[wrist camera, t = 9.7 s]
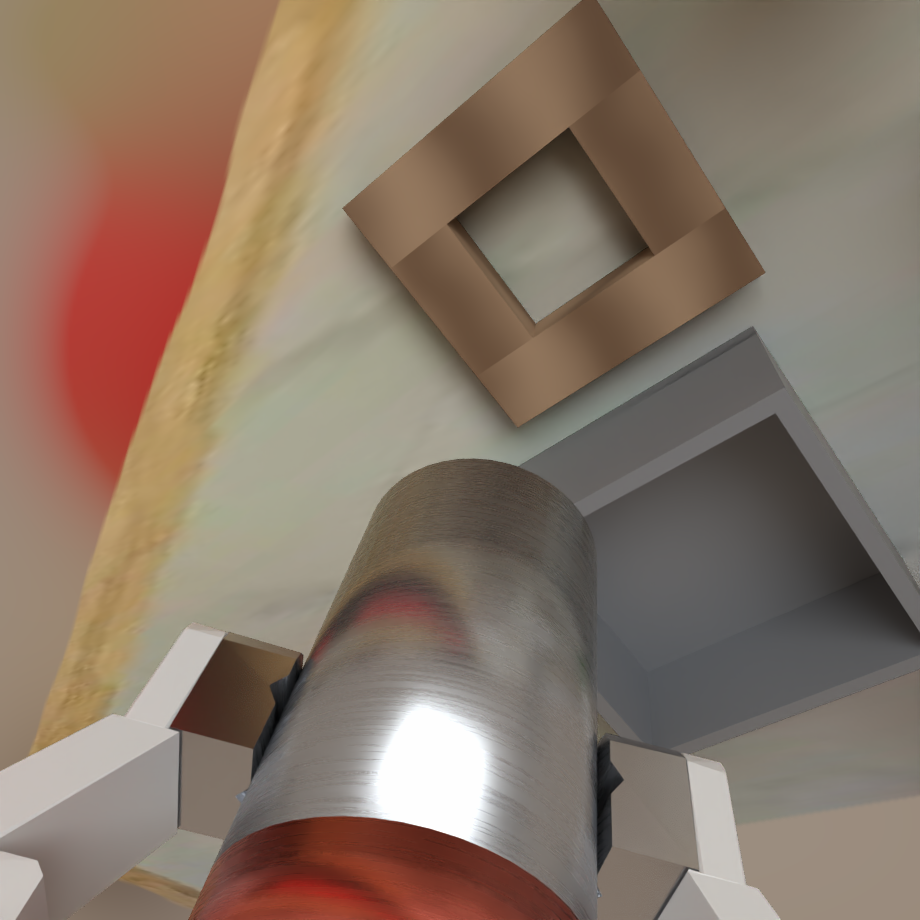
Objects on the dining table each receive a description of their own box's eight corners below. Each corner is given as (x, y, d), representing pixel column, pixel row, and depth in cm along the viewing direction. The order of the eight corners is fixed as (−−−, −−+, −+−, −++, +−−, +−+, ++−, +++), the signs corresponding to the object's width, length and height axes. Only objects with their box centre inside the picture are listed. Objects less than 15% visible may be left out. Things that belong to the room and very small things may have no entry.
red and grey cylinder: (628, 494, 12) (667, 1096, 5) (562, 670, 14) (529, 1271, 7) (385, 431, 12) (121, 943, 6) (353, 615, 14) (131, 1156, 8)
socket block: (591, -7, 30) (591, -9, 29) (757, 260, 34) (765, 272, 33) (354, 199, 36) (342, 208, 34) (521, 410, 40) (517, 427, 38)
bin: (752, 325, 36) (784, 386, 30) (903, 561, 41) (957, 655, 34) (484, 486, 42) (465, 563, 36) (641, 673, 47) (648, 768, 41)
